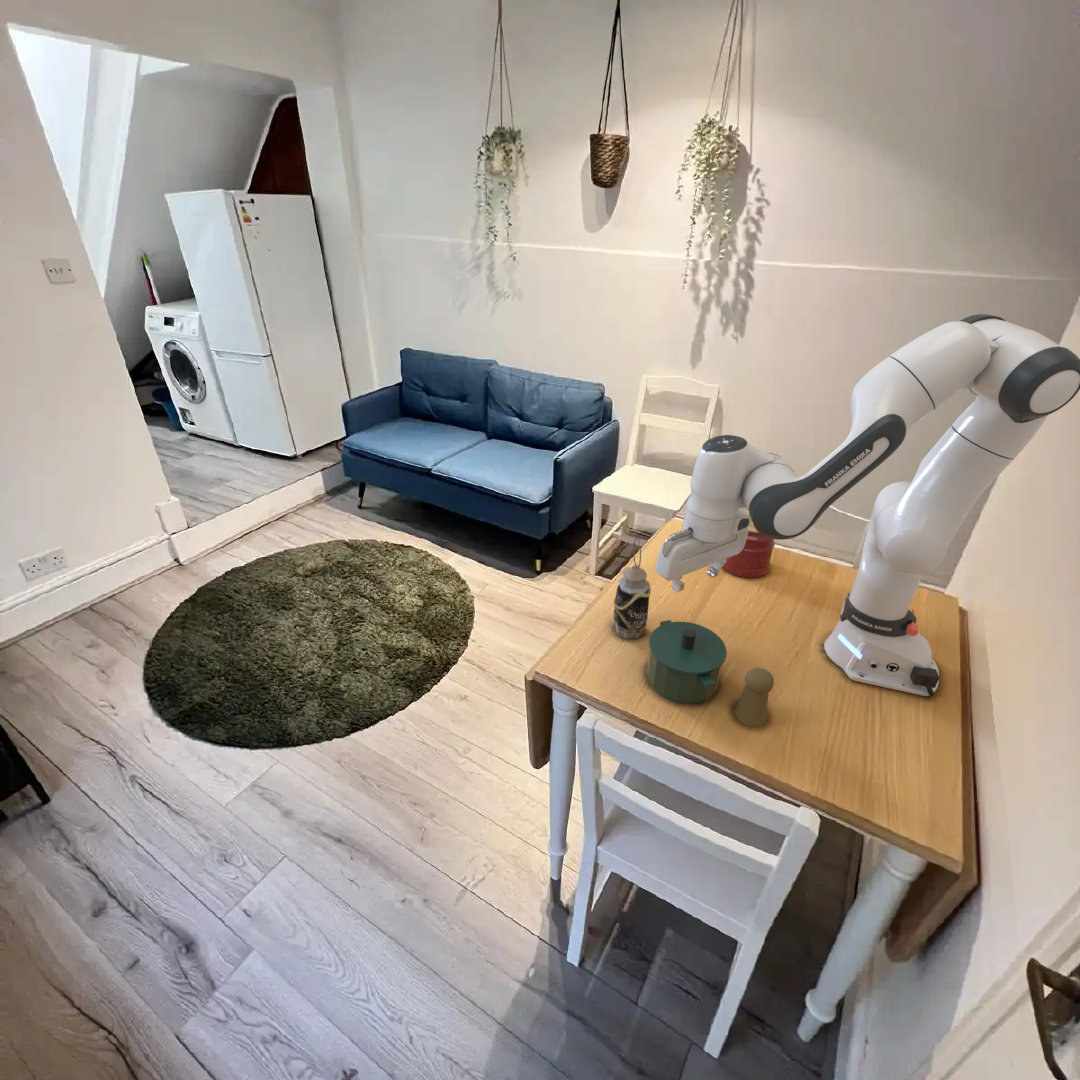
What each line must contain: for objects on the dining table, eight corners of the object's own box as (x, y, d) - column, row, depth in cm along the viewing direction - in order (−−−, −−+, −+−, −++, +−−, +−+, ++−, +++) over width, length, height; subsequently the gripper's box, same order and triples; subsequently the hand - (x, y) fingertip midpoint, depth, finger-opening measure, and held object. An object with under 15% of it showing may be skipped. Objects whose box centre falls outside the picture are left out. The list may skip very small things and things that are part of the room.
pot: (690, 642, 133) (695, 612, 128) (737, 705, 116) (745, 674, 112) (631, 653, 130) (635, 623, 125) (671, 720, 113) (676, 688, 109)
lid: (702, 620, 127) (705, 603, 125) (740, 668, 114) (745, 650, 112) (636, 632, 124) (638, 615, 121) (668, 683, 111) (671, 665, 108)
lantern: (649, 641, 133) (661, 549, 120) (614, 642, 133) (622, 550, 120) (641, 617, 140) (652, 529, 128) (608, 619, 140) (615, 530, 127)
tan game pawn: (768, 728, 111) (780, 687, 106) (736, 724, 112) (746, 683, 106) (763, 705, 116) (775, 664, 111) (732, 701, 117) (742, 660, 112)
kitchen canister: (737, 548, 168) (748, 494, 159) (777, 567, 160) (791, 511, 151) (710, 563, 161) (720, 508, 152) (750, 584, 152) (764, 526, 143)
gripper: (678, 545, 98) (666, 608, 106) (759, 516, 108) (742, 575, 115) (653, 528, 103) (644, 589, 110) (733, 501, 112) (719, 560, 120)
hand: (695, 582), depth 113 cm, fingers open, 8 cm apart
